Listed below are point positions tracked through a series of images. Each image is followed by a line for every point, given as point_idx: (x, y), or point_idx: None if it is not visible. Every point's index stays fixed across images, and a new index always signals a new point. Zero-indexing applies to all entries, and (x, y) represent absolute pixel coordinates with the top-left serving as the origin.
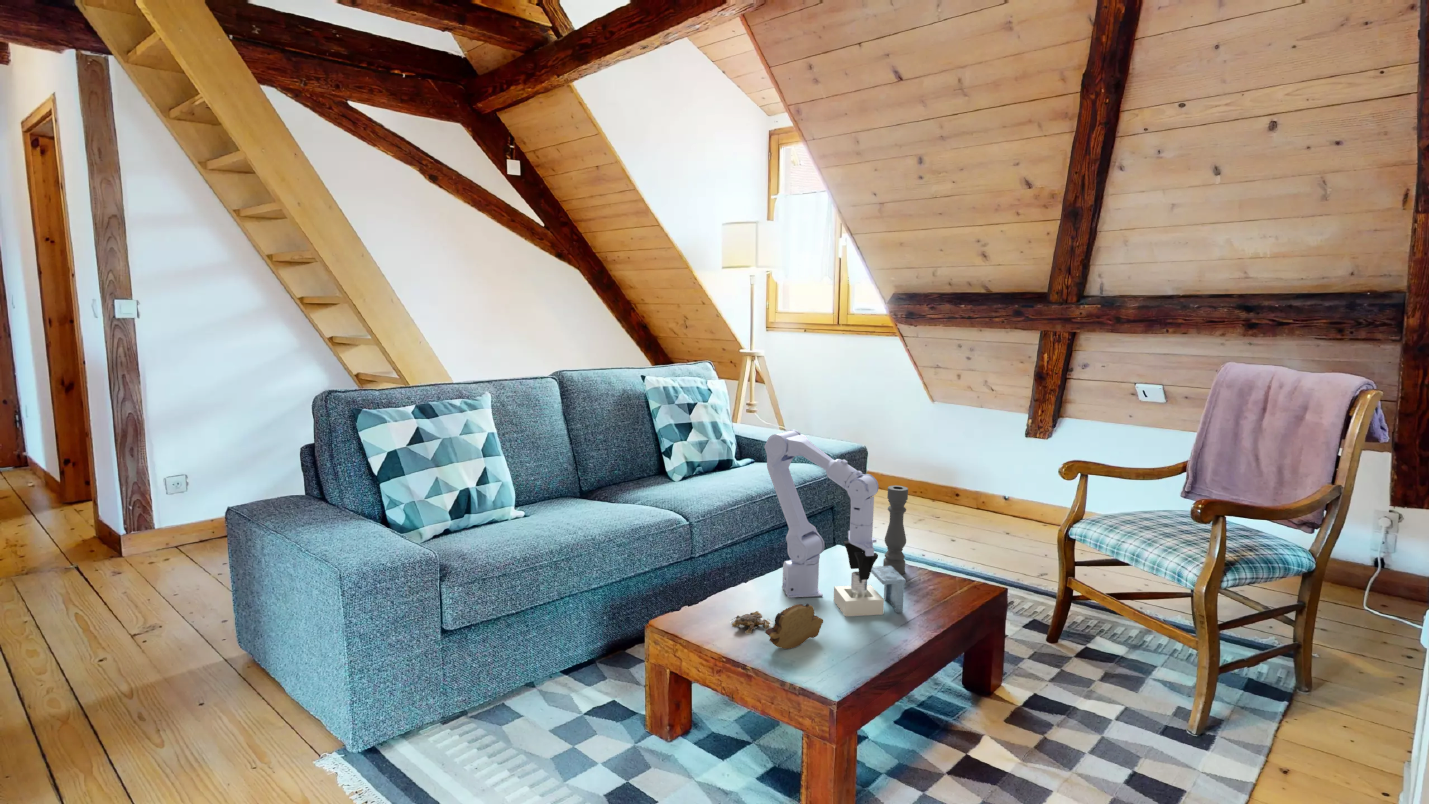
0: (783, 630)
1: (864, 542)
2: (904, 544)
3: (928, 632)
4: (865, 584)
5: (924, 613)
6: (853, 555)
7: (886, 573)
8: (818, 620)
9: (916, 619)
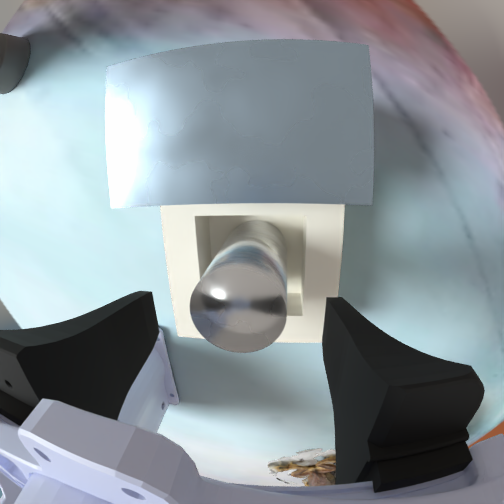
0: None
1: None
2: None
3: (472, 93)
4: (280, 269)
5: (334, 23)
6: (117, 373)
7: (236, 126)
8: None
9: (385, 72)
